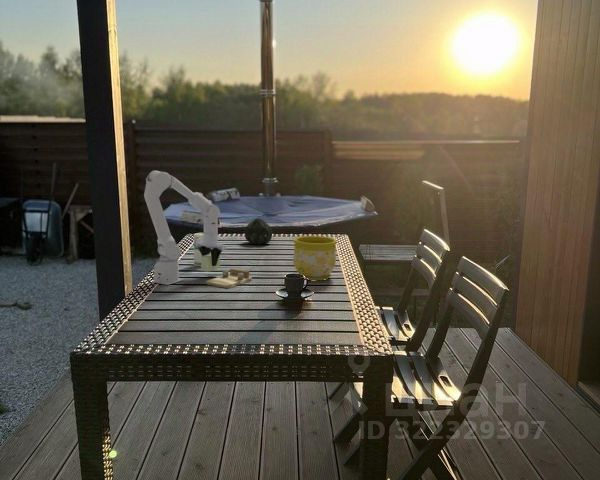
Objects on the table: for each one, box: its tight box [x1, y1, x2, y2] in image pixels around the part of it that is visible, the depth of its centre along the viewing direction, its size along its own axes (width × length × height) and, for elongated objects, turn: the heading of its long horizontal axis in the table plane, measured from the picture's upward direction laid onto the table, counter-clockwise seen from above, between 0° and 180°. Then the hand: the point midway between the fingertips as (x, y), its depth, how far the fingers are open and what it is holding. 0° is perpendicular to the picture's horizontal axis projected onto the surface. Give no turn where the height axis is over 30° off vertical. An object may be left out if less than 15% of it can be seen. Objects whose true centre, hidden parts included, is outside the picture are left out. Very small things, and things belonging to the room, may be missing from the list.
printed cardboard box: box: [193, 232, 211, 267], centre depth 264 cm, size 6×6×14 cm
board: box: [205, 268, 253, 289], centre depth 236 cm, size 16×11×4 cm
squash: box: [244, 218, 273, 246], centre depth 319 cm, size 14×15×15 cm
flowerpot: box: [293, 235, 338, 280], centre depth 246 cm, size 18×18×16 cm
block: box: [200, 254, 221, 272], centre depth 244 cm, size 8×4×6 cm, turn 149°
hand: (210, 265), depth 244 cm, fingers closed on block, 3 cm apart
